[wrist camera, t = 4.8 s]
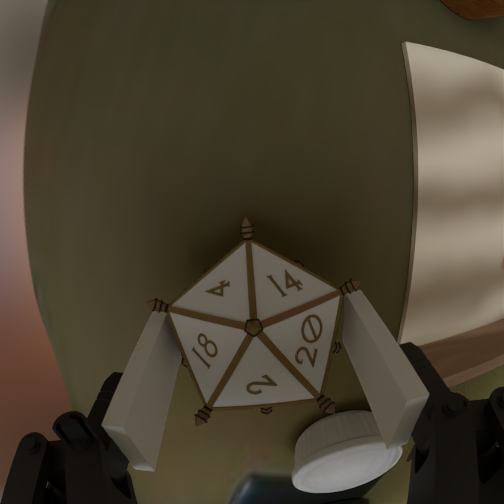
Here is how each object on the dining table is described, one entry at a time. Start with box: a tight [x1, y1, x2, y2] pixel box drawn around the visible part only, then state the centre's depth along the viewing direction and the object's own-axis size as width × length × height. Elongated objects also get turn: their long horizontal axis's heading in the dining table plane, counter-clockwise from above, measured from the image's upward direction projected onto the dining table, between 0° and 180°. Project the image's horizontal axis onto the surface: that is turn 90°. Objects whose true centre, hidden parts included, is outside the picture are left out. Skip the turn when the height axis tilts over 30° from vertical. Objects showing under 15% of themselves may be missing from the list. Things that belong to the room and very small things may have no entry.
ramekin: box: [292, 410, 403, 493], centre depth 24 cm, size 11×11×5 cm
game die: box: [146, 217, 362, 427], centre depth 13 cm, size 9×8×10 cm
